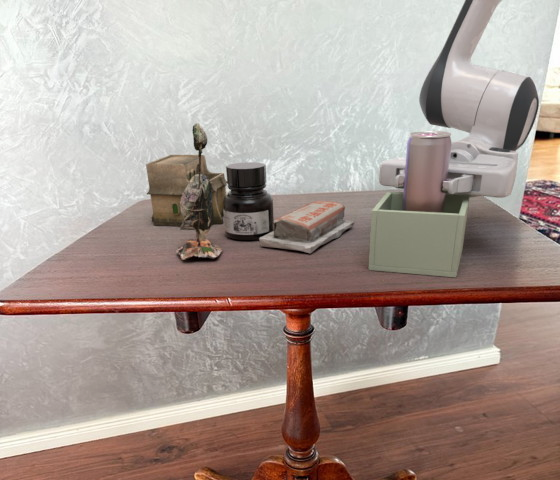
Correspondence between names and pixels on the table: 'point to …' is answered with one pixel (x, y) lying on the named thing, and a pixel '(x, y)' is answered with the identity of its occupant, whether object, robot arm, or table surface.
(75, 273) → the table surface
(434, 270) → the waste bin
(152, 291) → the table surface
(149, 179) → the miniature house
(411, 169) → the beverage can
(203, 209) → the plant with pod
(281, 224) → the packaged product
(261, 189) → the ink bottle
